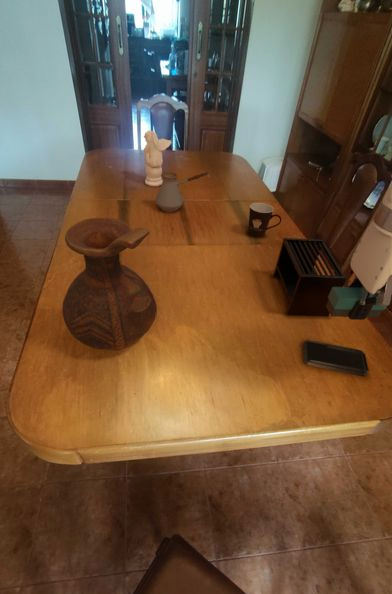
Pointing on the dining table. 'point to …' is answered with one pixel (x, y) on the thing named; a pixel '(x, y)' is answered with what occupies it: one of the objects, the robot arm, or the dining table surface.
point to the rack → (307, 276)
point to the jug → (107, 287)
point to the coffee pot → (172, 191)
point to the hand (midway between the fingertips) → (352, 310)
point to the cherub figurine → (154, 158)
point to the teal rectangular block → (348, 302)
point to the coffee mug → (260, 219)
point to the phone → (335, 358)
